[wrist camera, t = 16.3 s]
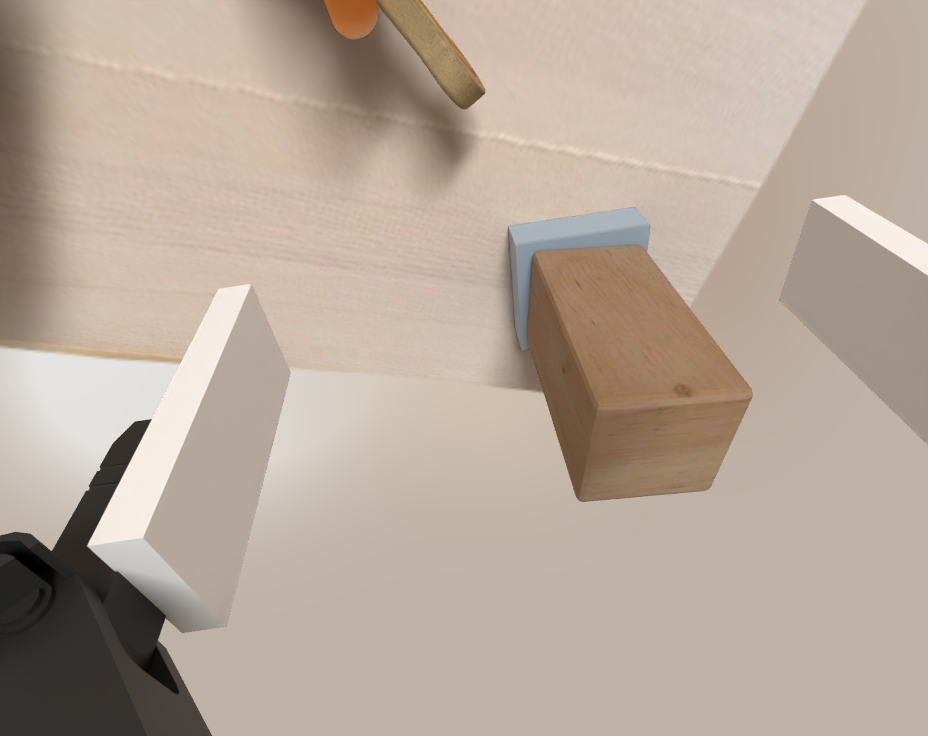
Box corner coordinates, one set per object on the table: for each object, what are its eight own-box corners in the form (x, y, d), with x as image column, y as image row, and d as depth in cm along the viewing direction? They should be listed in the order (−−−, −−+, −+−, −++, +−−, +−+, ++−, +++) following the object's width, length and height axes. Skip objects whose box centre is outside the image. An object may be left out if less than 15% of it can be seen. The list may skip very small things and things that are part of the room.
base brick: (515, 328, 57) (521, 351, 54) (508, 226, 49) (515, 245, 46) (624, 312, 57) (636, 334, 54) (634, 207, 49) (650, 225, 46)
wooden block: (532, 248, 46) (596, 405, 31) (642, 242, 47) (758, 392, 31) (525, 339, 53) (576, 505, 37) (622, 332, 53) (711, 493, 38)
